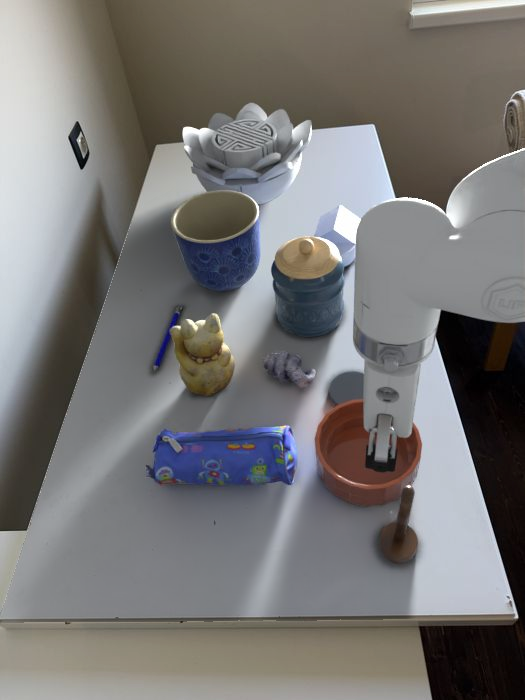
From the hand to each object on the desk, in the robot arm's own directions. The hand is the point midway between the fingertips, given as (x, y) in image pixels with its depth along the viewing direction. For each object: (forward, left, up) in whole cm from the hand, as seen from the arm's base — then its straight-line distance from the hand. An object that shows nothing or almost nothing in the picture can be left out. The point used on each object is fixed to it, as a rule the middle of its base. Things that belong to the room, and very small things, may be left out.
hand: (383, 430), depth 64 cm
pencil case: (+20, +12, -21) cm, 31 cm away
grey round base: (+18, -13, -21) cm, 30 cm away
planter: (+58, -15, -21) cm, 63 cm away
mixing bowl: (+7, -5, -21) cm, 23 cm away
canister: (+37, -20, -21) cm, 47 cm away
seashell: (+28, -7, -21) cm, 36 cm away
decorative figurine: (+36, +4, -21) cm, 42 cm away
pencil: (+51, +4, -22) cm, 55 cm away
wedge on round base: (+48, -37, -21) cm, 64 cm away
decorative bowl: (+79, -37, -21) cm, 89 cm away
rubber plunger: (-5, +1, -21) cm, 22 cm away
